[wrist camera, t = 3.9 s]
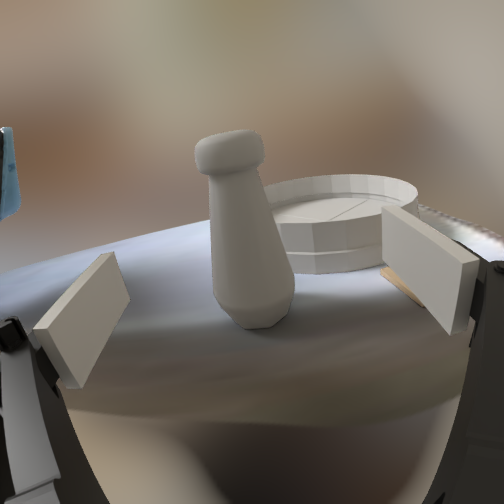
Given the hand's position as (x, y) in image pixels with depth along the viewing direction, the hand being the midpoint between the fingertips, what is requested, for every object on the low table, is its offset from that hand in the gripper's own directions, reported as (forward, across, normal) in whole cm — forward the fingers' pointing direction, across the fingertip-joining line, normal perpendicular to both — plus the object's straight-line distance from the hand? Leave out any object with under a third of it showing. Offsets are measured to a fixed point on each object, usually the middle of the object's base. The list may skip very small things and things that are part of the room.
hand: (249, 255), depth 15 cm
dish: (+21, +8, -8) cm, 24 cm away
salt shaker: (+6, 0, -8) cm, 10 cm away
